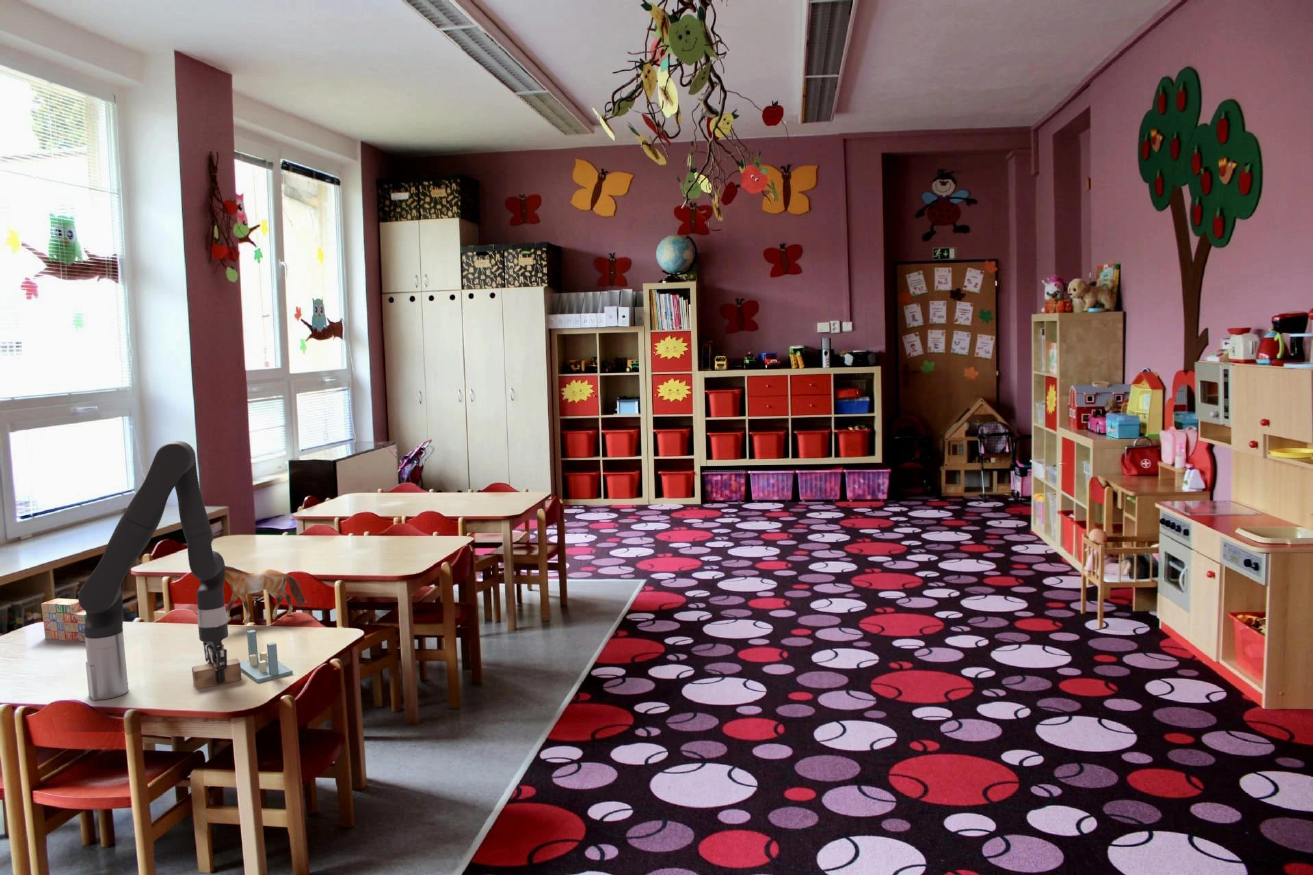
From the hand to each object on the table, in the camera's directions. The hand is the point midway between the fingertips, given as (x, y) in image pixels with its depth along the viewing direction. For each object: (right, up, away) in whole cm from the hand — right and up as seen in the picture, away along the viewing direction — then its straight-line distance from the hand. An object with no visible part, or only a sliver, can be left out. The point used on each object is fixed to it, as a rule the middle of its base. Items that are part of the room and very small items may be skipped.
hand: (217, 679), depth 278 cm
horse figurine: (-11, +5, +59) cm, 60 cm away
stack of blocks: (-68, +2, +47) cm, 83 cm away
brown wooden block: (0, -1, 0) cm, 1 cm away
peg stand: (+10, +1, +8) cm, 13 cm away
